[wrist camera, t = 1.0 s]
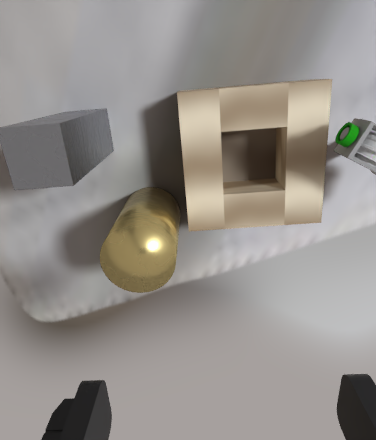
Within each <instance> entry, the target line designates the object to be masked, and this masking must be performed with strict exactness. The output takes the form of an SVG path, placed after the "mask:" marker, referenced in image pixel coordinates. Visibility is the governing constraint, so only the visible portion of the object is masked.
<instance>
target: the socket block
mask: <svg viewBox="0 0 376 440" xmlns="http://www.w3.org/2000/svg"><path fill="white" fill-rule="evenodd" d="M331 88H332V79H313V80H300V81H288V82H277V83H265V84H254V85H242V86H230V87H219V88H207V89H195V90H184V91H179V92H177V99H178V110H179V122H180V133H181V145H182V156H183V168H184V179H185V191H186V202H187V213H188V225H189V231H201V230H216V229H231V228H246V227H261V226H276V225H291V224H306V223H321V217H322V204H323V192H324V179H325V166H326V153H327V140H328V127H329V114H330V101H331Z"/></svg>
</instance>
